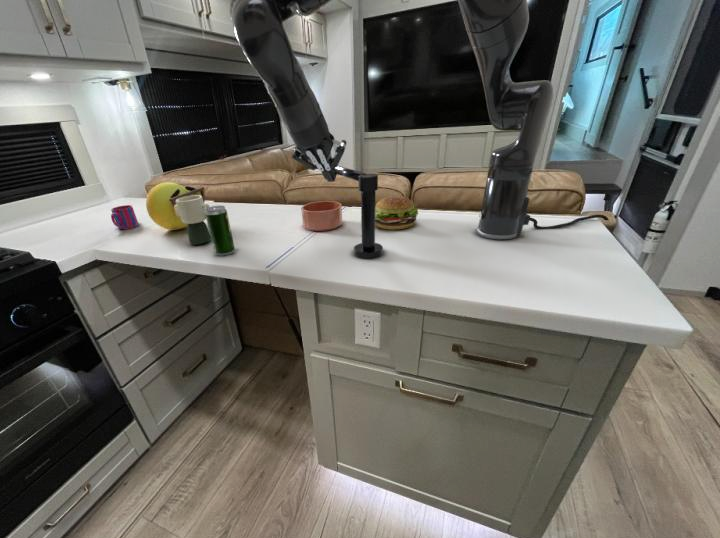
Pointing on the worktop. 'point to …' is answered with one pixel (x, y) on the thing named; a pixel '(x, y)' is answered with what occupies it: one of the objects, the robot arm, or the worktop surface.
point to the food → (395, 213)
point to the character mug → (193, 217)
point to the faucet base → (368, 229)
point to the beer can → (220, 230)
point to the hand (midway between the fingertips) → (332, 178)
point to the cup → (124, 217)
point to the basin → (322, 215)
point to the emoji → (168, 204)
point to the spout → (360, 178)
